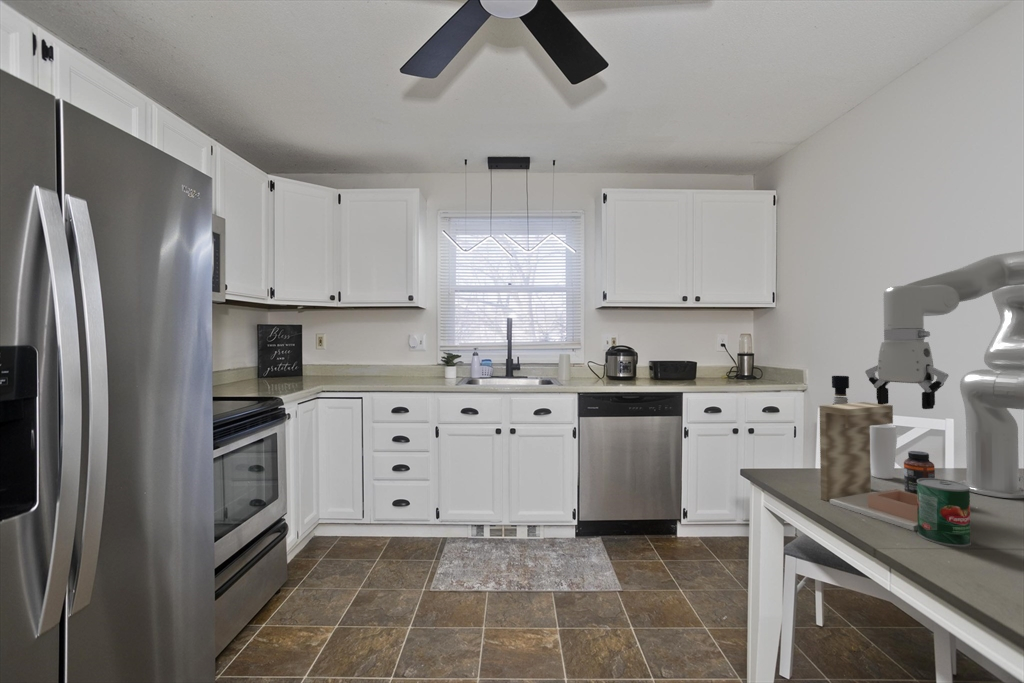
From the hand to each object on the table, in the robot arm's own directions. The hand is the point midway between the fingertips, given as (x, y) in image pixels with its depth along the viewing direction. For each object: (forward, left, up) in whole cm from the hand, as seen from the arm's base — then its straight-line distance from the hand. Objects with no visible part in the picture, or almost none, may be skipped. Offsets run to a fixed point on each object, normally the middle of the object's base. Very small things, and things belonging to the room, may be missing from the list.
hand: (904, 406), depth 115 cm
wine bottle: (+1, -15, -24) cm, 28 cm away
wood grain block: (+9, -6, -24) cm, 26 cm away
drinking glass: (-17, -16, -24) cm, 34 cm away
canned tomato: (+16, +16, -24) cm, 33 cm away
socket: (+10, +3, -23) cm, 26 cm away
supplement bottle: (-7, -1, -24) cm, 25 cm away
